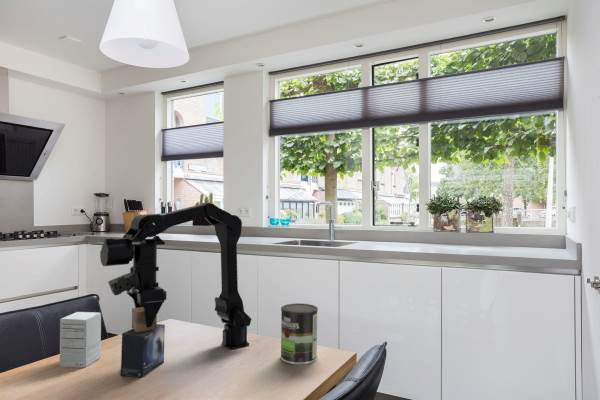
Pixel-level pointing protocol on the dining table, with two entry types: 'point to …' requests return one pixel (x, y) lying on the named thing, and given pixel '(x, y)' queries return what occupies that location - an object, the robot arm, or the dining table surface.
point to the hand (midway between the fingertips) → (144, 322)
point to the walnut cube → (141, 320)
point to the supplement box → (80, 339)
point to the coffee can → (299, 334)
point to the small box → (142, 351)
